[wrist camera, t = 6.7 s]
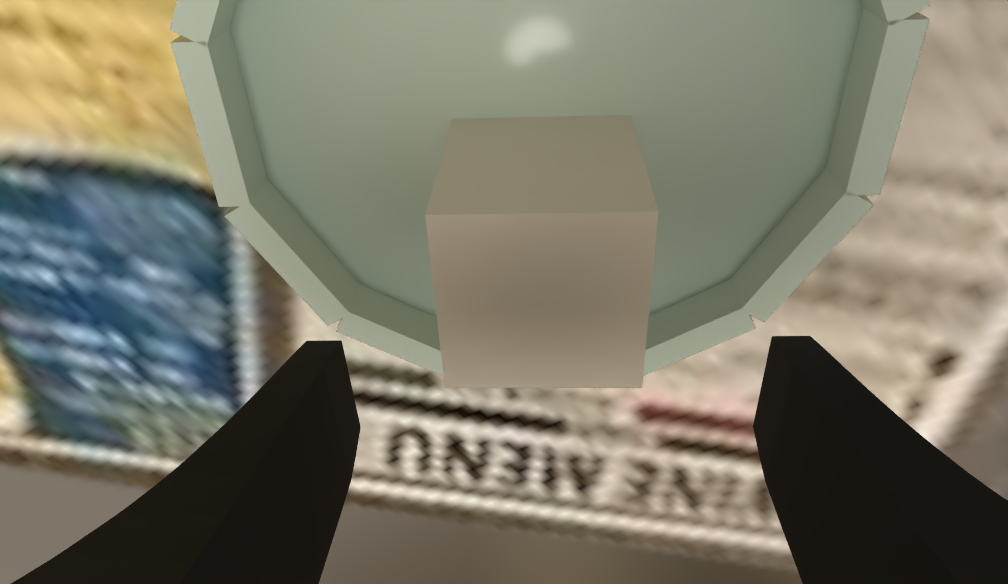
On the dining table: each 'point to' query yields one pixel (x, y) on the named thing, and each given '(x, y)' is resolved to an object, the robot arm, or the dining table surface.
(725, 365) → the dining table surface
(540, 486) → the dining table surface
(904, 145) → the dining table surface
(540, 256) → the beige stone block
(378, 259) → the serving bowl
